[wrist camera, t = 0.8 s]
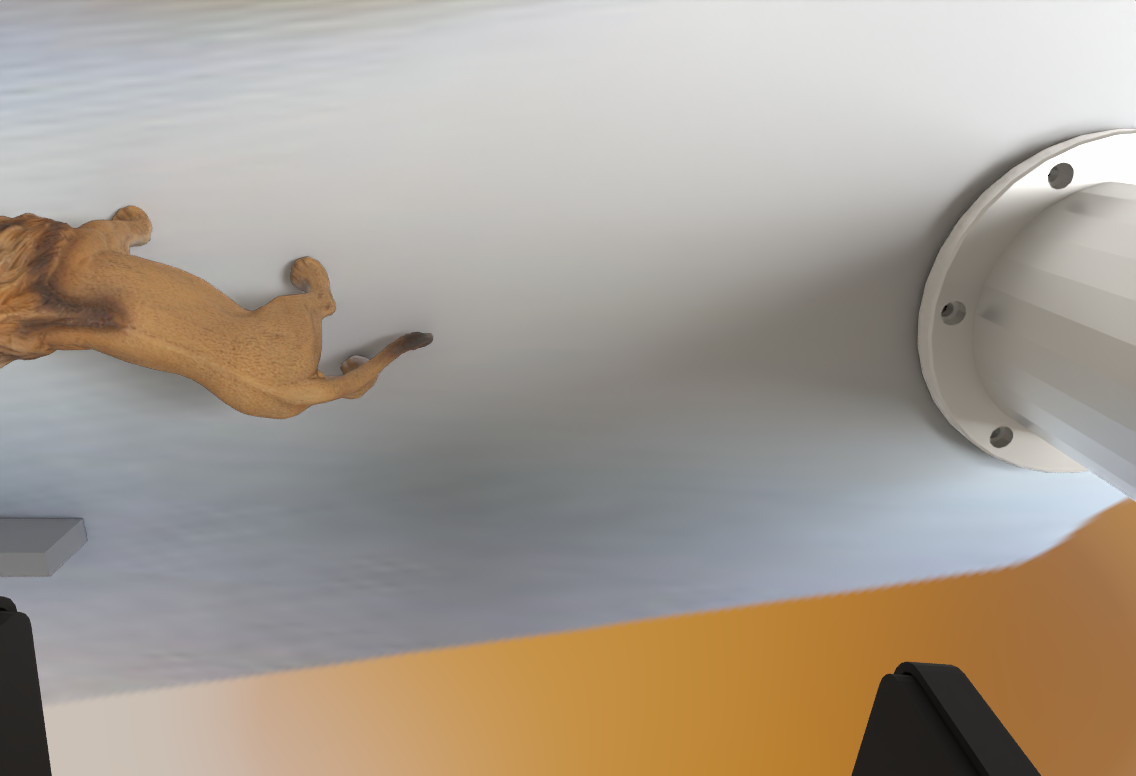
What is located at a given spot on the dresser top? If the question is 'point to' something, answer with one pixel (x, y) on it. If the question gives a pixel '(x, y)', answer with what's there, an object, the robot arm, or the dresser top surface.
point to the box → (38, 544)
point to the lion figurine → (171, 316)
